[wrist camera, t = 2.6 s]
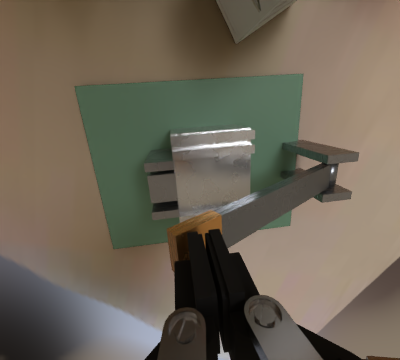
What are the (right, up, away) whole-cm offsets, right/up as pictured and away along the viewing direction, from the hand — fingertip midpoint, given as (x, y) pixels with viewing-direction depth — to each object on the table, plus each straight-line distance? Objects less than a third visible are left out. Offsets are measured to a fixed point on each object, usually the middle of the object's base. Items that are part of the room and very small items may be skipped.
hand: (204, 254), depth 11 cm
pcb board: (0, +5, +15) cm, 16 cm away
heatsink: (+4, +6, +16) cm, 17 cm away
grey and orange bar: (+6, +3, +6) cm, 8 cm away
